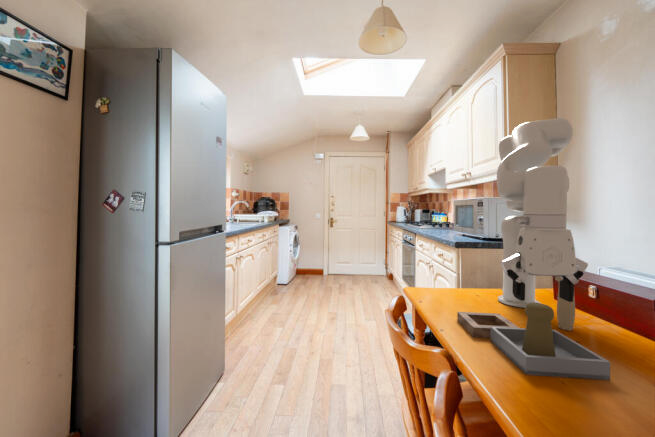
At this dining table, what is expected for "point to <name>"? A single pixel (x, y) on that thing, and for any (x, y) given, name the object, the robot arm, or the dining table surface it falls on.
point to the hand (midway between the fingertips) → (542, 299)
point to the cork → (539, 330)
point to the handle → (565, 311)
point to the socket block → (483, 331)
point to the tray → (567, 362)
